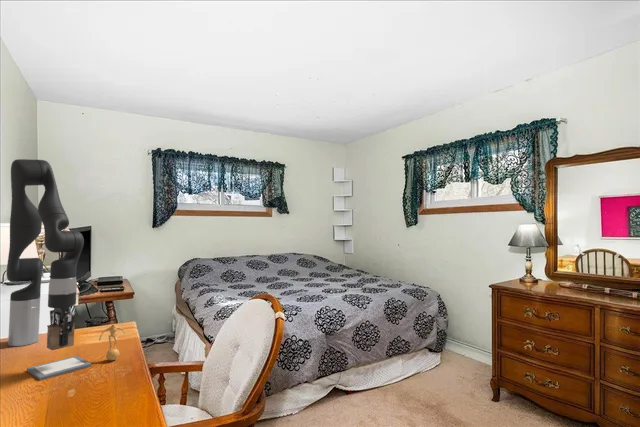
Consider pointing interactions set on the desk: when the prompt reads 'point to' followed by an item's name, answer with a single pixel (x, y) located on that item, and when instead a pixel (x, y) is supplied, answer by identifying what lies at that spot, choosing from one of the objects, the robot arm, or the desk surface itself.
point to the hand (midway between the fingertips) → (60, 343)
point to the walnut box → (54, 337)
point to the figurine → (114, 352)
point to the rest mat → (58, 367)
